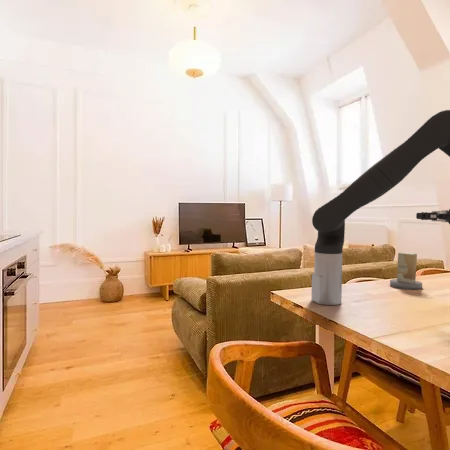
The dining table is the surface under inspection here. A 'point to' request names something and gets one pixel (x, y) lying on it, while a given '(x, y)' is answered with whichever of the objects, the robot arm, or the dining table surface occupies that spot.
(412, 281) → the skincare box
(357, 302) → the dining table surface
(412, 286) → the stand
